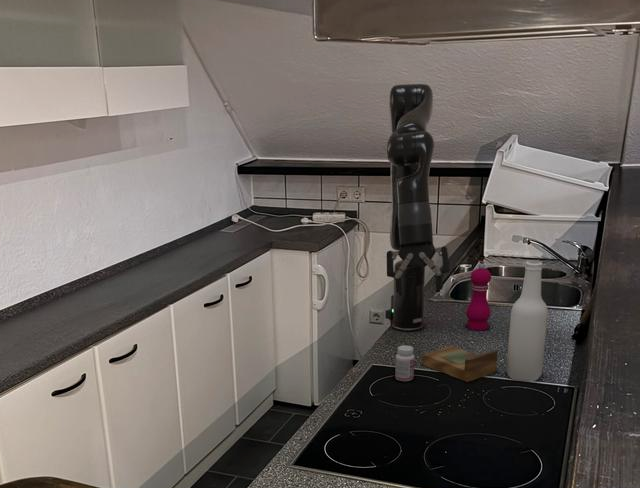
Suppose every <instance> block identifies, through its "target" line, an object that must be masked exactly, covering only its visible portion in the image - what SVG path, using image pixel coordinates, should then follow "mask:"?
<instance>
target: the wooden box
mask: <svg viewBox="0 0 640 488" xmlns="http://www.w3.org/2000/svg"><path fill="white" fill-rule="evenodd" d="M498 353H499V351H498V350H496V349H492V350H489V351H485V352H483V353H480V354H479V353H478V354H476V353H473V352H471V351H468V350H465V349H462V348H459V347H456V346H453V345H448V346H446V347H443V348H439V349H436V350H432V351H430V352H426V353H423V354H422V366H424V367H426V368H427V367H428V368H430V369H432V370H435V371H437V372H440V373H443V374H445V375H447V376H449V377H453V378H456V379H458V380H461V381H463V382H465V383H470V382H472V381H474V380H477V379H481V378H484V377H486V376H489V375H492V374H495V373H497V364H498Z"/></svg>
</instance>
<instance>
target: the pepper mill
mask: <svg viewBox="0 0 640 488" xmlns="http://www.w3.org/2000/svg"><path fill="white" fill-rule="evenodd" d="M491 280H492V273H491V272H490V271H489V270H488V269H487V268H485V264H484V263H479V265H478V268H476V269H473V271H472V272H471V273H470V281H471V282H472V284H471V290H472V298H471V300H470V303H469V304H468V306H467V308H466V313H465V316H466V317H467V322H466V327H467V329H469V330H474V331H485V330H487V329H488V328H489V321H488V320H489V319H490V317H491V307H490V305H489V302H488V298H487V294H488V290H490V288H489V287H490V285H489V283H490V282H491Z"/></svg>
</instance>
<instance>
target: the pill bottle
mask: <svg viewBox="0 0 640 488" xmlns="http://www.w3.org/2000/svg"><path fill="white" fill-rule="evenodd" d="M394 370H395V373H394V378H395V380H397V381H399V382H410V381H412V380H414V377H415V355H414V347H413V346H410V345H400V346H399V345H398V347H397V354H396V355H395V369H394Z"/></svg>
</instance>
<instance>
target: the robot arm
mask: <svg viewBox="0 0 640 488" xmlns="http://www.w3.org/2000/svg"><path fill="white" fill-rule="evenodd" d="M388 108H389V127H390V135H389V138H388V140H387V142H386V148H385V149H386V150H385V153H386V158H387V160H388V162H389V163H390V193H391V195H390V197H391V206H390V207H391V209H390V223H389V224H390V228H389V243H390V247H391V249H392V250H388V251H387V252H386V276H387V277H388V278H393V294H392V295H391V296H390V308H389V309H385V314H384V315H385V316H384V317H385V319H387V320H389V322H390V326H391V327H392V329H395V330H397V331H401V332H414V331H419V330H421V329H423V328H424V302H425V301H424V300H425V276H426V275H425V274H426V267H428V268H429V269H430V270H432V272H433V273H434V274H435V277H434V278H435V292H436V293H440V292H441V290H443V288H444V281H443V275H445V274H446V273H447V274H448V273H449V272H450V270H451V266H450V265H451V264H450V257H449V256H450V255H449V247H448V246H447V245H443V246H438V247H435V245H434V233H433V219H432V208H431V203H430V188H429V178H430V177H429V176H430V169H431V164H432V160H433V155H434V150H435V140H434V137H433V136H432V134H431V133H430V132H428V131H427V127H428V125H429V122H430V120H431V117H432V114H433V109H434V94H433V89H432V87H431V86H430V85H429V84H427V83H406V84H395V85H393V86H392V87H391V89H390V91H389V97H388ZM436 253H437V254H438V257H441V259H442V268H440V267H439V266H438V265H437V263H436V262H435V261H434V260H433V258H434V256H435V254H436ZM397 257H399V258H400V259H401V260H398V261H396V262H395V263H394V261H395V260H396V259H397ZM393 324H394V325H393Z"/></svg>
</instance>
